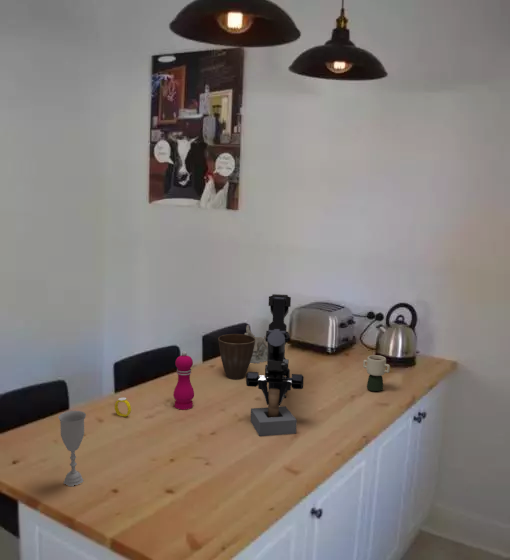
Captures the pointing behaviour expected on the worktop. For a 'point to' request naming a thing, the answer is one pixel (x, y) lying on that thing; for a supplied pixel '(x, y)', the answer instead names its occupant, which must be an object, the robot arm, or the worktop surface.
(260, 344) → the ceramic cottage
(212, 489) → the worktop surface
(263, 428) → the socket block
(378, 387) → the cream and green vessel
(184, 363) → the pepper mill
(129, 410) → the yellow ring
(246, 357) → the plant pot
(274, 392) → the walnut pin
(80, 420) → the chalice
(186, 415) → the worktop surface
